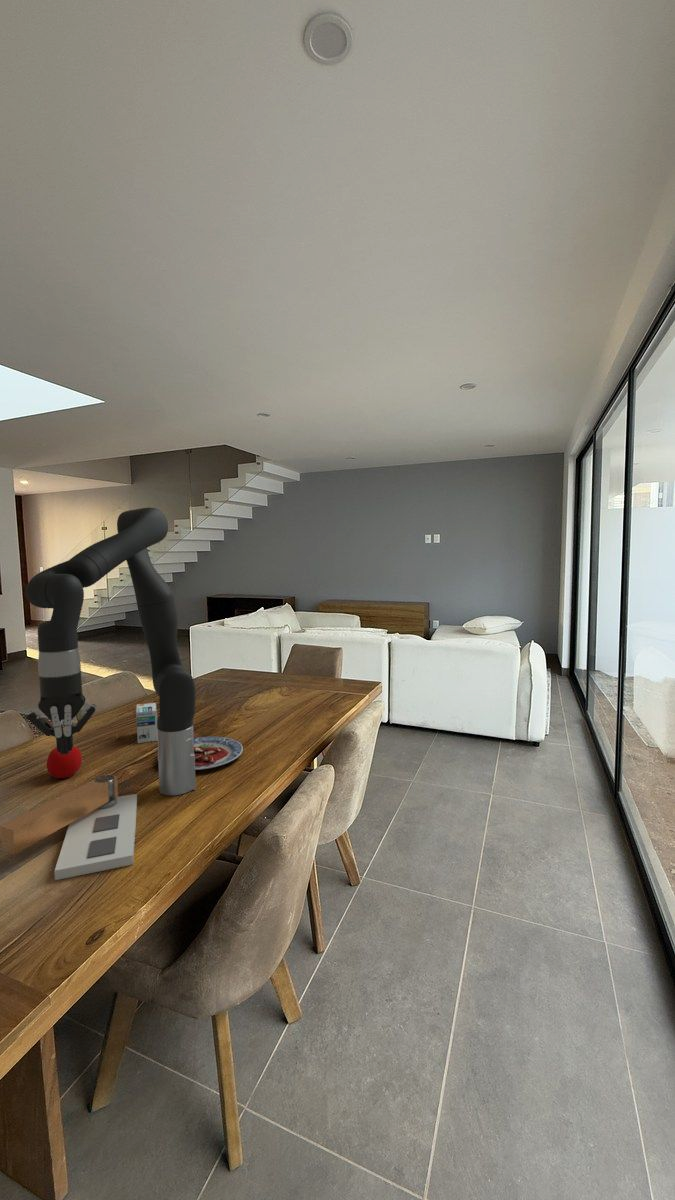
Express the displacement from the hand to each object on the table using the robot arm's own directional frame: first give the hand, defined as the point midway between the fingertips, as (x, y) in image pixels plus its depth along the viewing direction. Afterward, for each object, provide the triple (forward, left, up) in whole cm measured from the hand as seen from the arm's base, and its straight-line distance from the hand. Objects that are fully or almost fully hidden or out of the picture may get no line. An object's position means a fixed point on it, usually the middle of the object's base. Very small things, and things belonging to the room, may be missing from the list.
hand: (65, 752), depth 102 cm
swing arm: (+2, -8, -19) cm, 20 cm away
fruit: (+7, -43, -22) cm, 49 cm away
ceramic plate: (-31, -42, -23) cm, 57 cm away
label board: (-6, -5, -22) cm, 23 cm away
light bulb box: (-15, -67, -22) cm, 72 cm away
